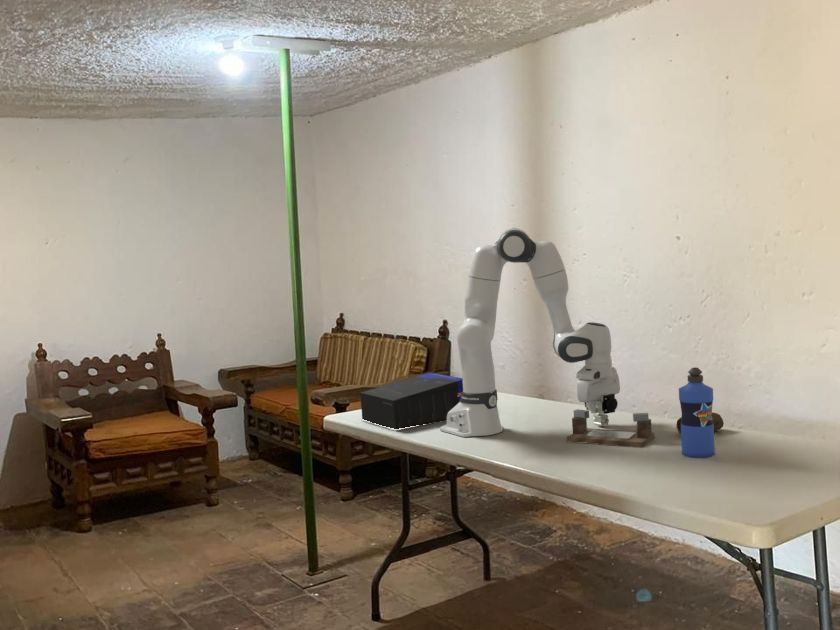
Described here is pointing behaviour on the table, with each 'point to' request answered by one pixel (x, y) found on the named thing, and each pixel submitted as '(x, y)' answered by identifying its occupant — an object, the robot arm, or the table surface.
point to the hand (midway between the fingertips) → (600, 411)
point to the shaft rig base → (638, 440)
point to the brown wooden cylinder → (716, 421)
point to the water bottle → (696, 417)
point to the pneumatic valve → (603, 408)
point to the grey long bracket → (611, 434)
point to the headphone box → (412, 401)
